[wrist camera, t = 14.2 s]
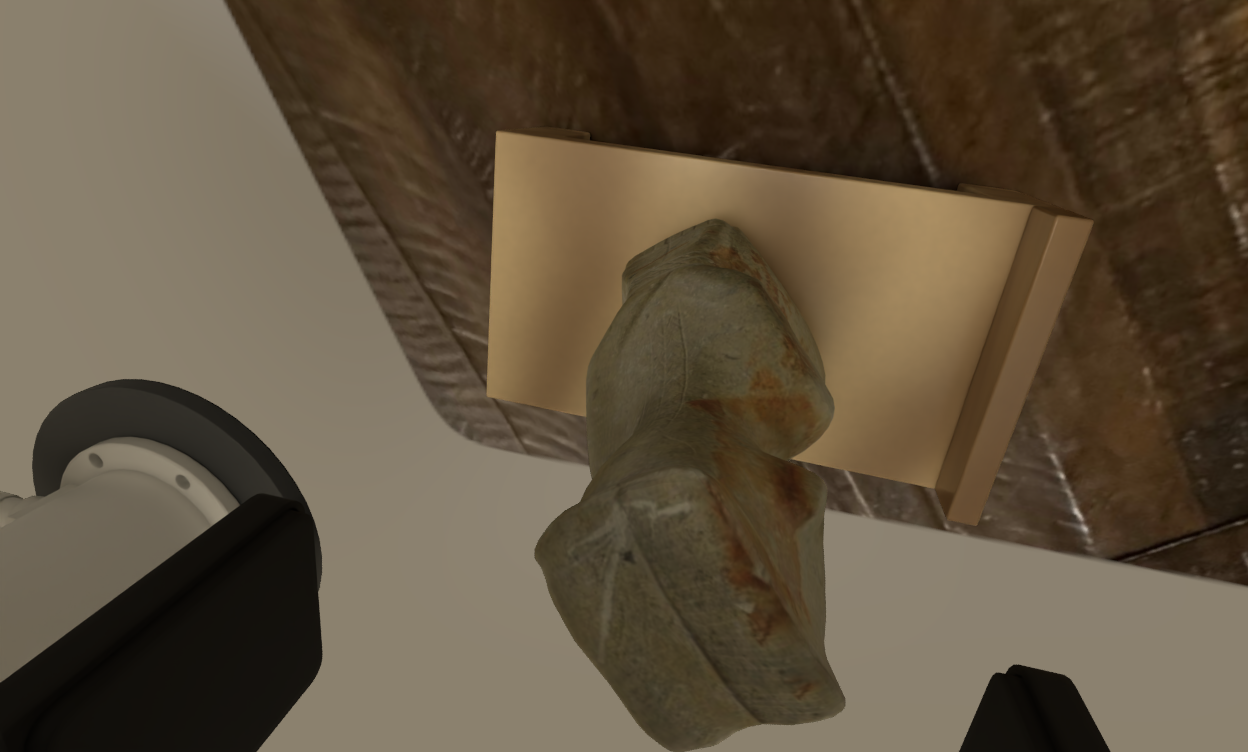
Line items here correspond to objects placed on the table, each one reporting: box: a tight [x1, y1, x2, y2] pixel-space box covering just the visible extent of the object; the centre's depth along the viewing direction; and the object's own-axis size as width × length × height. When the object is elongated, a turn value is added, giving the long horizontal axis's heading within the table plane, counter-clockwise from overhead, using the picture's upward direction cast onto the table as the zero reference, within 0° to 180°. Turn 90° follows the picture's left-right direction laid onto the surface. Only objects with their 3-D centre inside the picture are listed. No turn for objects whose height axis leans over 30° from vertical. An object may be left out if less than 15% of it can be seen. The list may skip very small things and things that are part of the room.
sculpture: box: [535, 219, 845, 752], centre depth 17 cm, size 6×7×15 cm
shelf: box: [487, 126, 1094, 526], centre depth 25 cm, size 18×10×7 cm, turn 83°
